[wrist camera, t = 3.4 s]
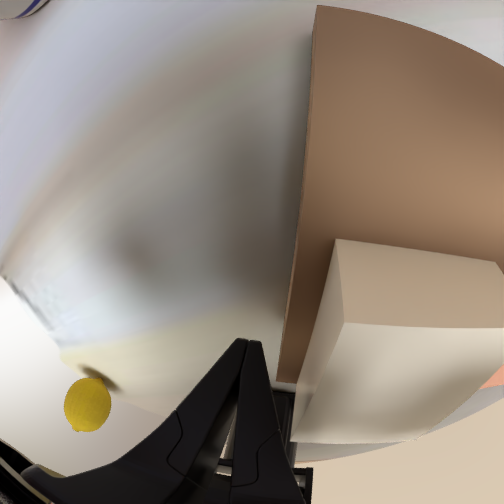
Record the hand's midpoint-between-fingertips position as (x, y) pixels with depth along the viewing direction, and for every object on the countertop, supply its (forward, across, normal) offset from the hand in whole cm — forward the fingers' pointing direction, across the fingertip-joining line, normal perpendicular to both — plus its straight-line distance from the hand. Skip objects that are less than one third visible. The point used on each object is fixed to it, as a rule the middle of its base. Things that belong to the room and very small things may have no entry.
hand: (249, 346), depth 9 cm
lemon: (+5, +19, +21) cm, 29 cm away
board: (+5, -7, -3) cm, 9 cm away
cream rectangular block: (0, -5, 0) cm, 5 cm away
